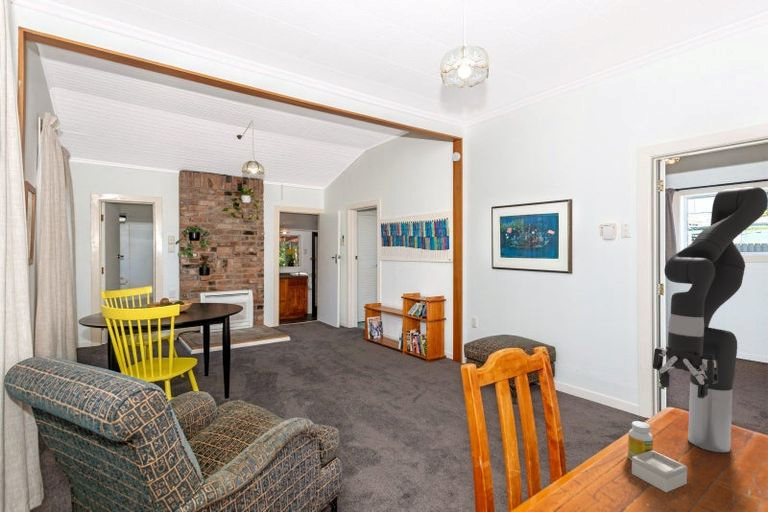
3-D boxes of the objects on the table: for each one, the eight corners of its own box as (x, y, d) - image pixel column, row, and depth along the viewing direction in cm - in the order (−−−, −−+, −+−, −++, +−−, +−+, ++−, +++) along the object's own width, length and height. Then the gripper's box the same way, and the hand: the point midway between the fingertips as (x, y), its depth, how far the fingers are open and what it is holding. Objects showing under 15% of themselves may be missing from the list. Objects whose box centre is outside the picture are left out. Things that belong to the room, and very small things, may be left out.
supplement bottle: (633, 452, 107) (634, 418, 106) (656, 461, 102) (657, 425, 102) (624, 458, 104) (625, 422, 103) (646, 468, 99) (647, 431, 99)
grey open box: (651, 465, 100) (652, 449, 100) (686, 483, 93) (687, 466, 93) (631, 473, 97) (632, 456, 97) (666, 492, 90) (666, 474, 89)
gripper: (725, 337, 100) (722, 400, 100) (664, 326, 112) (661, 382, 113) (710, 339, 96) (706, 404, 97) (649, 327, 109) (646, 385, 109)
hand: (682, 392), depth 105 cm, fingers open, 8 cm apart
